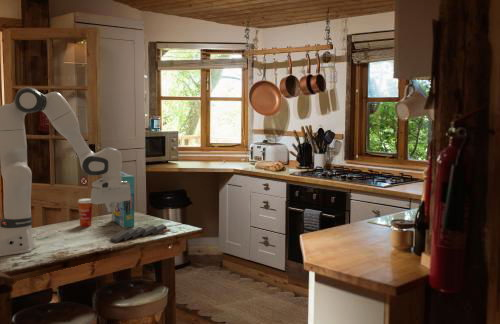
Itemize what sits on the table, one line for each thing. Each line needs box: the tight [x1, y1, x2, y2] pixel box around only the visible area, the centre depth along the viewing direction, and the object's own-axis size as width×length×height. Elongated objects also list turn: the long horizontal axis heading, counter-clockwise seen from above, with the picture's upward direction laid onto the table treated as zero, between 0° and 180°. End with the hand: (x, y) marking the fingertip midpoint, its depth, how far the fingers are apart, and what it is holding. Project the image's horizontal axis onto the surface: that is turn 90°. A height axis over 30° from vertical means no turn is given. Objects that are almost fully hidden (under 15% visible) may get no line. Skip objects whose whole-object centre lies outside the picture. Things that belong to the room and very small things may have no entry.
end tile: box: [156, 228, 171, 234], centre depth 282 cm, size 2×4×8 cm
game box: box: [111, 170, 135, 228], centre depth 298 cm, size 20×6×27 cm, turn 31°
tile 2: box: [121, 228, 137, 241], centre depth 267 cm, size 2×4×8 cm
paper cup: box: [77, 198, 93, 228], centre depth 291 cm, size 8×8×14 cm
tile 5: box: [149, 223, 167, 236], centre depth 278 cm, size 2×4×8 cm
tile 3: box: [129, 226, 146, 239], centre depth 271 cm, size 2×4×8 cm
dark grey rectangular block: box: [109, 229, 129, 243], centre depth 263 cm, size 2×4×8 cm
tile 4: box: [139, 224, 157, 238], centre depth 274 cm, size 2×4×8 cm
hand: (111, 211), depth 258 cm, fingers closed
